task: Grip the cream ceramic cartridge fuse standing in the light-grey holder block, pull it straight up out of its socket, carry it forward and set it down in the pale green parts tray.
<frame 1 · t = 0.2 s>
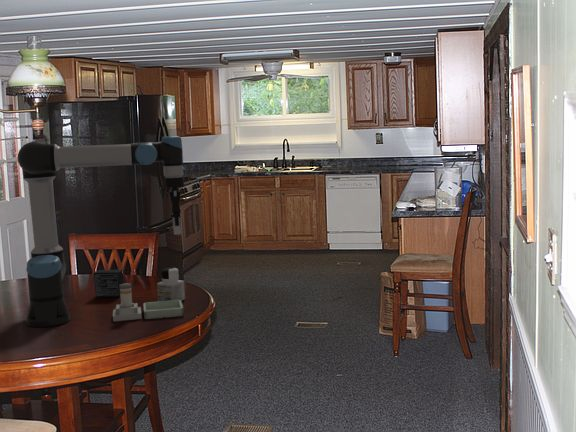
hand: (177, 231, 298), 28 cm above the table, fingers open, 13 cm apart
small box: (110, 296, 318), on the table
tray: (163, 312, 286), on the table
fuse: (127, 311, 282), point 2 cm above the table, touching holder
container: (171, 301, 304), on the table
holder: (127, 316, 282), on the table
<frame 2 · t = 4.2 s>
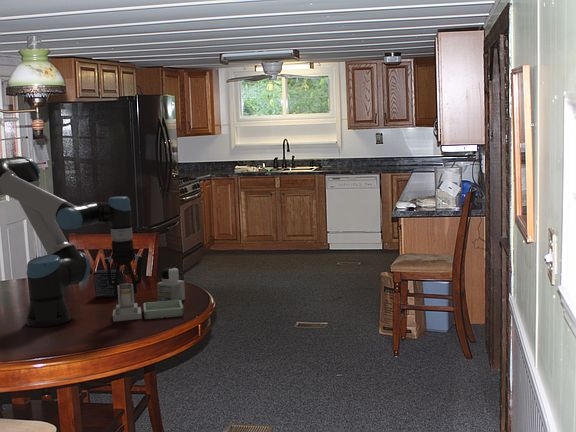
hand: (126, 302, 282), 5 cm above the table, fingers closed on fuse, 4 cm apart
fuse: (127, 311, 282), point 2 cm above the table, touching gripper, holder
everything else where it was.
when the fingers open (6 cm above the table, at t = 10.2 s): fuse drops 2 cm, resting on tray.
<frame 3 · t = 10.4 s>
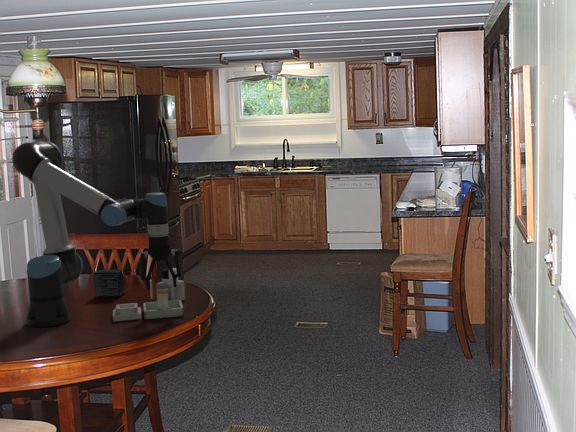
hand: (162, 296, 285), 6 cm above the table, fingers open, 7 cm apart
fuse: (163, 311, 286), point 1 cm above the table, touching tray
everything else where it was.
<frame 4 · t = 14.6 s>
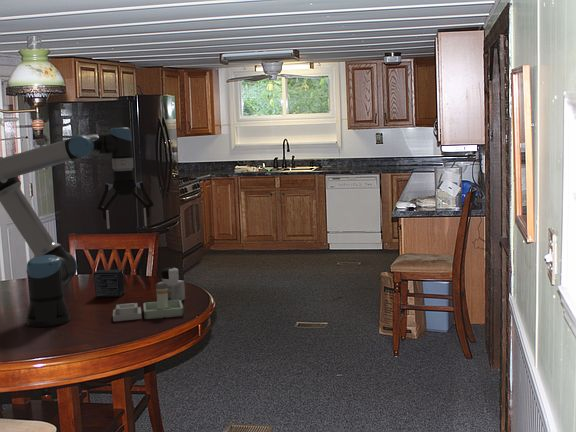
hand: (127, 227, 287), 32 cm above the table, fingers open, 13 cm apart
nothing on the table moved.
at the end: fuse inside the target area on the tray (0.0 cm from its centre), point 0.6 cm above the tray's base; the gripper is holding nothing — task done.
